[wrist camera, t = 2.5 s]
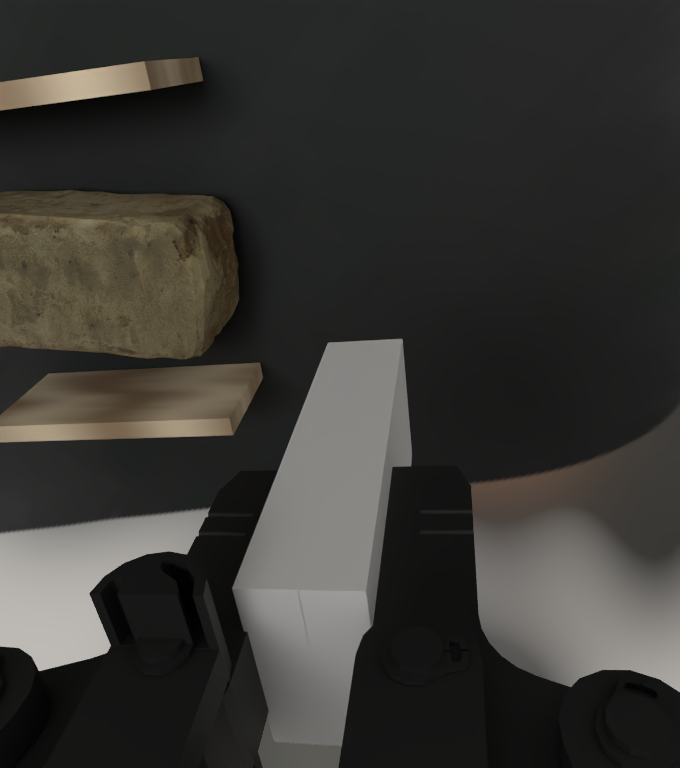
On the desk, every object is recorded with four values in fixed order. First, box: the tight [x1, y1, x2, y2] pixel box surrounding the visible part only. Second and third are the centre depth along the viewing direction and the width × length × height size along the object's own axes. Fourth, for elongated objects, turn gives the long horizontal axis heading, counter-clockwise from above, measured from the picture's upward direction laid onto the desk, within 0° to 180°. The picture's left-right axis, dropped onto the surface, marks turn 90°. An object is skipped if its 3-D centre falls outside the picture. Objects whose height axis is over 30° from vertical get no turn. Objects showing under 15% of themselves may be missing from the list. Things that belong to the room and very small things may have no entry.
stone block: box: [0, 190, 239, 359], centre depth 26 cm, size 6×12×5 cm, turn 91°
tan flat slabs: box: [0, 57, 263, 442], centre depth 26 cm, size 11×14×5 cm
